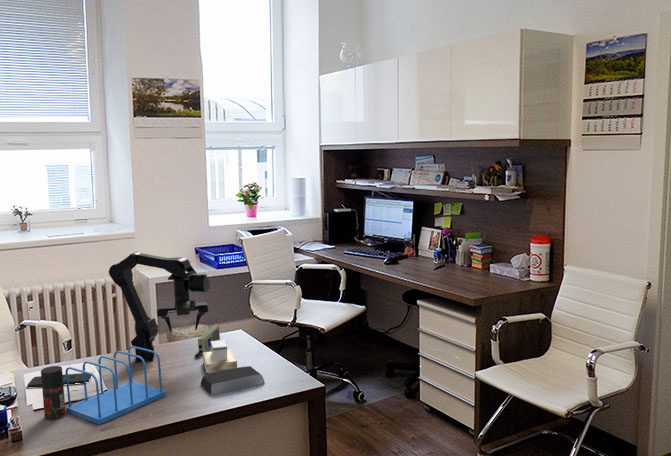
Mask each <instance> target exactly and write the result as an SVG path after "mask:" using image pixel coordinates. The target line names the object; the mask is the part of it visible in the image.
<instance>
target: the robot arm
mask: <svg viewBox="0 0 671 456" xmlns="http://www.w3.org/2000/svg"><path fill="white" fill-rule="evenodd" d="M137 265H140V266H146V267H151V268H157V269H162V270H164V271H166V272H168V273H170V274H171V275H169V277H167V280H168V281H173V300H174V306H173V307H168V305H158V306H157V307H156V315H157V317H158V318H159V317H160V319H164V321H165V323H166V324H167V328H168V329H169V332H170V334H172V333H173V332H172V331H173V330H172V323H171V319H170V314H173V313H176V315H177V316H184V315H186V316H188V315H190V314H191V312H195V322H194V323H195V324H194V326H195V327H194V328H195V329H194V330H195V331H197V330H198V326H199V322H200V320H201V318H202V317H203V316H204V315H206V314H207V313H208V312H209V306H208V303H207V302H206V301H203V302H195V300H191V295H190V292H192V293H193V292H194V293H208V291H209V290H210V285H211V283H210V281H209V278H208V275H207V273H200V274H199V273H197V271H196V269H195V268H194V266H192V265H191V261H190V260H189V258H187V257H183V256H182V257H181V256H177V257H176V256H175V257H164V256H159V255H154V254H148V253H144V252H140V251H136V252H133V253H130V254H129V255H128V256H127V257H125V258H124V259H122V260H121V261H120V262H118V263H115V264H112V265H111V266H110V267H109V269H108V275H109V277H110V278H111V280H112V281H113V282H114V283H115V284H116V285H117V286H118V287H119V288H120V290H121V292H122V295H123V297H124V300H125V301H126V303H127V305H128V308H129V311H130V313H131V315H132V318H133V320H134V322H135V323H134V331H135V335H136V336H135V337H134V338H133V339H132V340H131V341H130V345H131V346H136V347H140V348H144V349H148V350H152V351H155V345H153V342H154V341H155V340H156V337H157V335H158V333H159V327H160V326H159V325H158V324H157V322H156V318H155V317H153V318H151V317H149V316H148V314H147V312H146V310H145V307H144V306H143V304H142V301H141V298H140V295H139V294H138V291H137V289H136V287H135V285H134V283H133V279H134V278H133V277H134V275H133V271H132V270H133V269H134V268H135V267H136V266H137ZM134 352H135V354H134V355H137V356H140V357H142V358H143V359H144V361H145V362H150V361H154V358H155V354H154V353H151V352H148V351H144V350H140V349H136V348H134ZM140 362H141V363H143V362H142V360H141V359H140V358H137V357H135V363H140Z"/></svg>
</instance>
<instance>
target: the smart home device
mask: <svg viewBox="0 0 671 456" xmlns="http://www.w3.org/2000/svg"><path fill="white" fill-rule="evenodd" d="M91 373H92V374H93V373H94V372H91ZM85 377H86V382H88V381H89V379H90V378H91V375H88V374H85ZM91 379H92V378H91ZM91 379H90V380H91ZM68 382H69V384H75V383H84V378H83V373H82V372H79V373H78V372H77V373H68ZM89 382H90V381H89ZM64 384H66V374H65V373H64V374H63V386H65V385H64ZM75 385H76V384H75ZM28 387H37V388H42V380H41V375H40V376H38V375H37V376H34V377H33V378H32V379H31V380H30V381H29V382H28V383H27V388H28Z"/></svg>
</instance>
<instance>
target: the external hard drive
mask: <svg viewBox="0 0 671 456" xmlns="http://www.w3.org/2000/svg"><path fill="white" fill-rule="evenodd" d="M262 384H263V385H265V384H266V383H265V379H264V377H263V375H262V373H260V372H259V371H257V370H256V369H254V368H253V367H252V366H250V365H249V366H240V367H237V368H233V369H227V370H222V371H218V372H215V373H211V374H209V373H207V374H205V375H203V376H202V377H201V381H200V386H201V387H202V388H203V389H204V390H205V391H206V393H208V394H209V395H210V396H211V397H213V396H215V397H216V396H220V395H225V394H230V393H234V392H238V391H243V390H247V389H252V388H255V386H256V387H259V385H260V386H263V385H262Z"/></svg>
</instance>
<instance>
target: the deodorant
mask: <svg viewBox="0 0 671 456" xmlns="http://www.w3.org/2000/svg"><path fill="white" fill-rule="evenodd" d="M63 375H64V374H63V367H62V366H60V365H53V366H51V365H50V366H47V367H44V368H42V369H41V370H40V376H41V380H42V387H41V388H42V400H43V401H42V402H43V403H42V404H43V413H44V414H43V415H44V419H45V421H56V420H60V419H63V418H64V417H66V415H67V414H66V413H67V412H66V401H65V400H66V399H65V389H64V388H65V387H64V386H65V385H63Z"/></svg>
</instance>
